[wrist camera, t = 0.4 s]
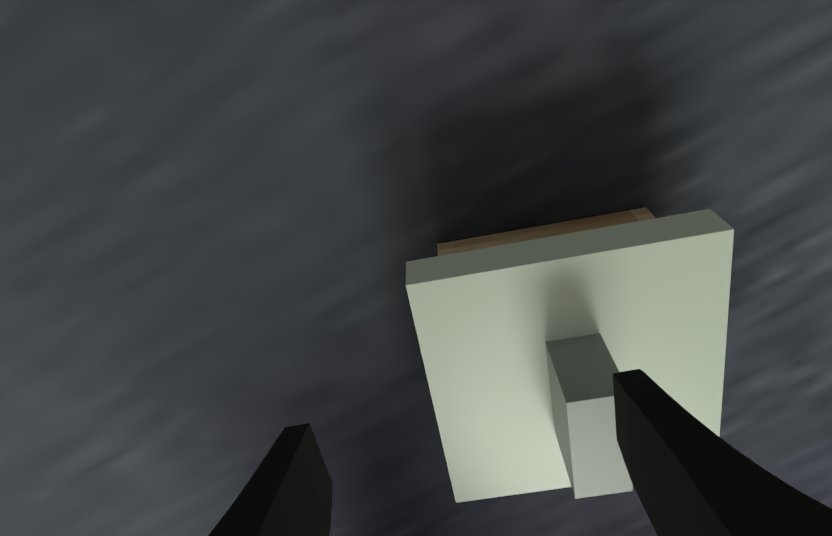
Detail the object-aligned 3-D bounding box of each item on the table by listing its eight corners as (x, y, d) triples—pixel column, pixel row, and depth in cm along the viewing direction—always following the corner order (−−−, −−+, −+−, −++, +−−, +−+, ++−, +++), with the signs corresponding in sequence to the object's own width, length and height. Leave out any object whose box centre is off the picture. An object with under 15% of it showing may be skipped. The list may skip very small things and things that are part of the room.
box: (647, 373, 26) (684, 439, 22) (467, 400, 27) (476, 469, 23) (646, 207, 22) (690, 255, 19) (437, 244, 23) (441, 297, 19)
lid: (699, 435, 24) (758, 535, 20) (453, 471, 24) (461, 574, 20) (709, 209, 19) (791, 278, 15) (405, 261, 20) (404, 341, 16)
